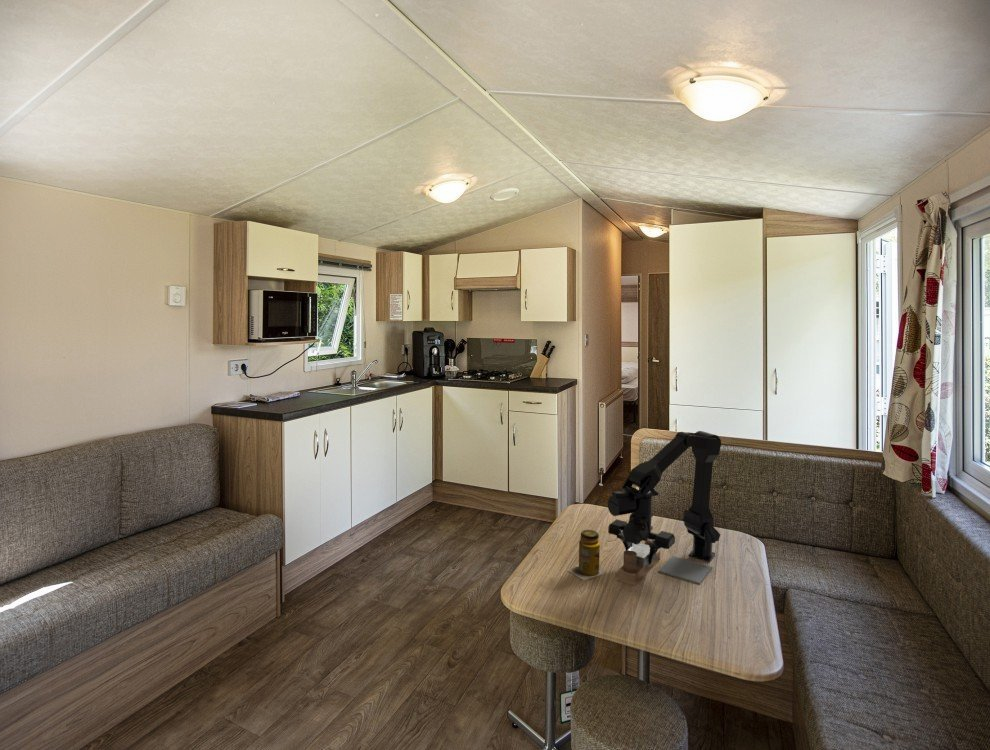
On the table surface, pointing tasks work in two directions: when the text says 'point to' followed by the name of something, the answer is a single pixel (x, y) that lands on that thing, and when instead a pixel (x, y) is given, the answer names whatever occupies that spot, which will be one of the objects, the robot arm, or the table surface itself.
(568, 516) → the table surface
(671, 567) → the rubber mat
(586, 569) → the condiment
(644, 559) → the lever cap
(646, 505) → the robot arm
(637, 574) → the plane body
